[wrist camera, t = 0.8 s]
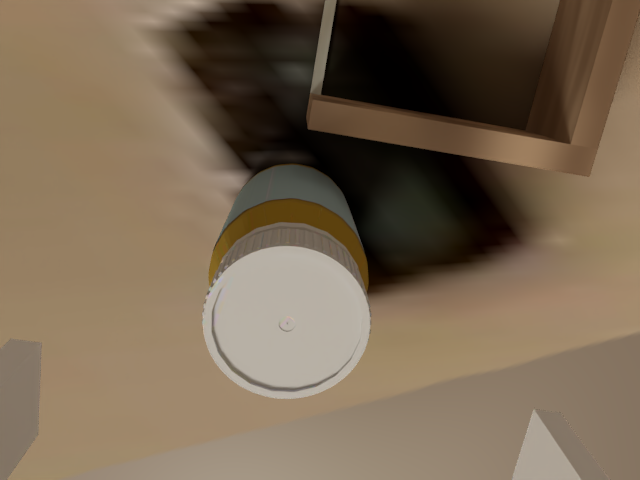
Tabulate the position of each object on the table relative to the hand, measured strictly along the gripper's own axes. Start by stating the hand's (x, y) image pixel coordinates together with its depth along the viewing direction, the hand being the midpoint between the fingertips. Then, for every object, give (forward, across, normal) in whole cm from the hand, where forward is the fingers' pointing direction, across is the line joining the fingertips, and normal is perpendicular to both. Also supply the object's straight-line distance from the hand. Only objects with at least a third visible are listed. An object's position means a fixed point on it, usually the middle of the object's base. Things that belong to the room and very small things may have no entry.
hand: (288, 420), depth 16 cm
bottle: (+21, 0, 0) cm, 21 cm away
